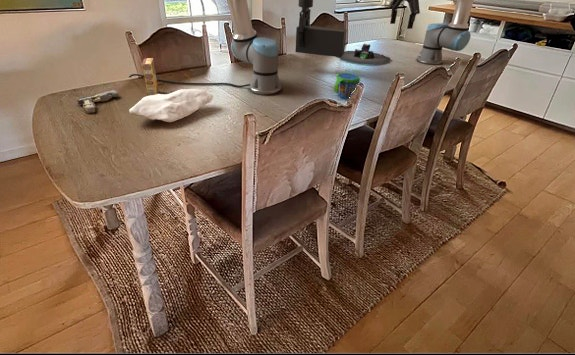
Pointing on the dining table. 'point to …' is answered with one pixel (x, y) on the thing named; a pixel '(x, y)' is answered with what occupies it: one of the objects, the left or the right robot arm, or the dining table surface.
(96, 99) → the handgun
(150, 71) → the candy box
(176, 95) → the crumpled cloth
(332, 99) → the dining table surface
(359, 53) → the grey disc with mount
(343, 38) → the box
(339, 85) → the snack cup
